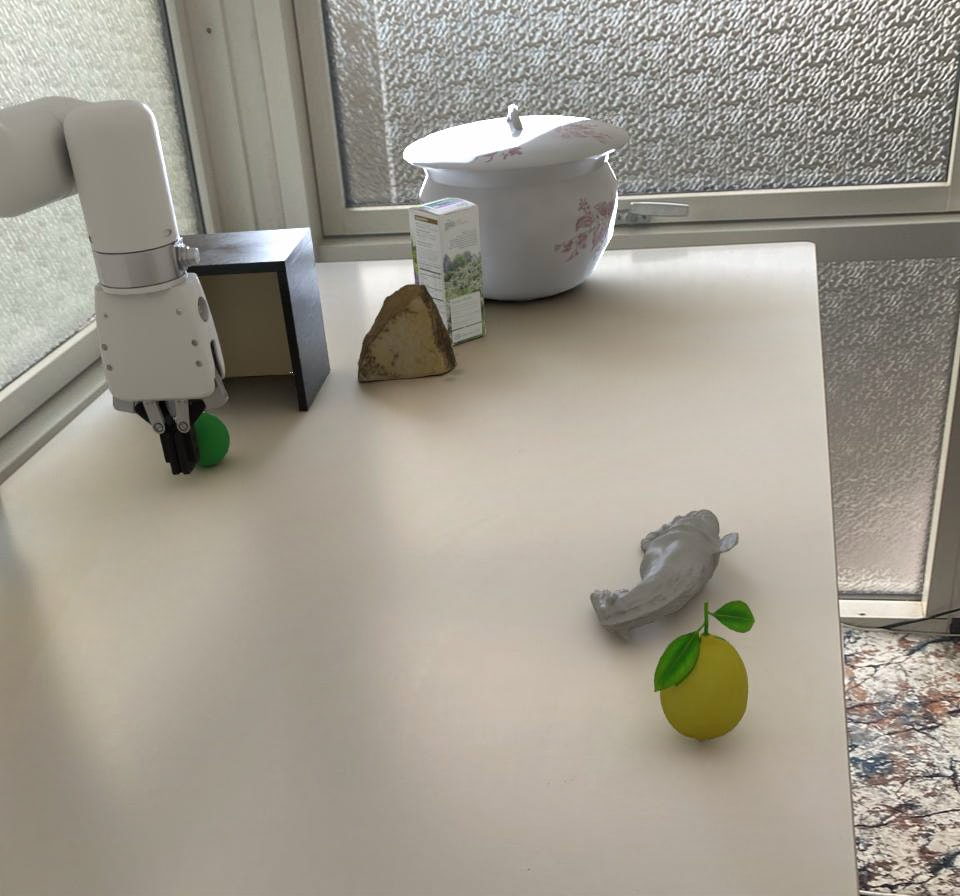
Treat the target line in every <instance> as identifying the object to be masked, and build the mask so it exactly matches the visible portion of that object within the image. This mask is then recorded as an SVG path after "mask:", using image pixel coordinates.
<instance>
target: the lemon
mask: <svg viewBox="0 0 960 896" xmlns="http://www.w3.org/2000/svg"><path fill="white" fill-rule="evenodd" d="M709 615H710V616H712V617H714V618H715V619H716V620H717V621H718V622H719V623H720V624H722V625H723V626H725V627H726V629H728V630H730V631H733V632H736V633H738V634H739V633H740V634H746V633H748V632H750V631H751V630H752V628H753V627H754V624H755V623H756V620H755V616H754V614H753V612H752V610H751V608H750V606H749V605H748V604H747V603H746V602H745V601H743V600H741V599H738V600H737V599H736V600H732V601H729V602H726V603H725V604H723V605H722V606H721V607H719V608H718V609H716V610H715V611H714V612H712V611H709V601H705V602H704V603H703V617H704V618H703V623H702V624H701V626H700V627H698V628H697V630H694V631H690V632H688V633H684V634H681V635H679V636H678V637H676V638H675V639H674V640H672V641H671V642H670V643H669V644H668V645H667V646H666V648H665V650H664V651H663V653H662V654H661V655H660V657H659V659H658V662H657V665H656V666H655V670H654V674H653V685H654V689H653V692H654V693H657V692H659V700H660V706H661V709H662V711H663V714H664V716H665V719H666V720H667V722H668V723H669V724H670V726H671V727H672V728H673V729H674V730H675V731H676V732H677V733H679V734H680V735H682V736H684V737H686V738H690V739H695V740H696V741H697V742H704V741H706V740H711V739H716V738H719V737H722V736H726V735H727V734H728V733H730V732H731V731H733V730H734V729H735V728H736V727H737V726H738V725H739V723H740V722H741V721H742V719H743V717H744V715H745V713H746V710H747V707H748V699H749V677H748V673H747V669H746V666H745V662H744V661H743V658H742V657H741V655H740V654H739V652H738V650H737V649H736V647H735V646H734V645H733V644H731V642H729V641H728V640H726V639H725V638H724V637H722V636H719V635H718V634H713V633H710V632H709ZM702 629H703V632H700V631H702Z"/></svg>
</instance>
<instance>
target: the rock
mask: <svg viewBox="0 0 960 896" xmlns="http://www.w3.org/2000/svg"><path fill="white" fill-rule="evenodd" d="M453 347H454V346H452V344H451V339H450V335H449V332H448V330H447V329H446V327H445V325H444V323H443V320H442V317H441V316H440V313H439V311H438V308H437V306H436V304H435V302H434V301H433V298H432V296H431V295H430V294H429V292H428V291H427V288H426V286H425V285H419V286H416V285H415V283H412V284H411V283H410V284H405V285H404V286H401V287H400V288H399V289H398V290H395V291H394V292H393V293H391V294H390V295H387V296H386V297H385V298H384V300H383V303H382V306H381V308H380V310H379V311H378V314H377V315H376V317H375V319H374V322H373V323H372V325H371V327H370V330H369V331H368V332H367V333H366V334H365V335H364V337H363V340H362V343H361V348H360V349H361V350H360V355H359V357H358V361H357V367H358V368H357V380H358V381H359V382H370V381H371V382H372V381H392V380H399V379H413V378H421V377H427V376H435V375H441V374H446V373H447V372H448V371H450V370H452V369H453V368H455V366H456V364H457V363H458V359H457V357H456V354H455V349H454V348H453Z"/></svg>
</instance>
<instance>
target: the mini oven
mask: <svg viewBox="0 0 960 896" xmlns="http://www.w3.org/2000/svg"><path fill="white" fill-rule="evenodd" d="M179 237H182V240H183V243H184V245H185V247H187V246H188V247H189V248H197V249H198V252H199V257H200V261H199V264H197V265H191V266H190V267H188V269H187V270H186V271H187V273H195V274H196V275H197V277H198V279H199V281H200V284H201V286H202V289H203V291H204V294H205V297H206V300H207V303H208V306H209V309H210V312H211V315H212V319H213V322H214V325H215V329H216V332H217V336H218V340H219V344H220V347H221V351H222V356H223V360H224V366H225V377H224V378H239V377H240V378H241V377H260V376H284V375H292V376H293V382H294V388H295V394H296V400H297V402H296V403H297V407H298V411H299V412H308V411H309V410H310V408H311V406H312V405H313V403H314V401H315V399H316V397H317V395H318V393H319V391H320V389H321V388H322V386H323V384H324V383H325V380H326V379H327V377H328V375H329V373H330V371H331V363H330V356H329V350H328V344H327V336H326V329H325V328H326V327H325V324H324V315H323V308H322V301H321V295H320V287H319V281H318V273H317V267H316V259H315V253H314V247H313V239H312V231H311V227H299V228H282V229H265V230H250V231H233V232H231V231H230V232H216V233H198V234H181V235H180V234H179ZM290 372H291V373H290ZM292 372H293V373H292ZM167 401H168V404H169V407H170V409H171V412H172V415H173V418H175V417H176V406H175V400H167Z"/></svg>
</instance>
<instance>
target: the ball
mask: <svg viewBox="0 0 960 896" xmlns="http://www.w3.org/2000/svg"><path fill="white" fill-rule="evenodd" d="M194 426H195V431H196V436H197V440H198V445H199V450H200V460H199V461H198V462H197V465H196V466H199V467H212V466H214V465H217V464H219V463H220V462H221V461H222V460H223V459H225V457H226V456H227V454H228V453H229V450H230V446H231V438H230V437H231V436H230V432H229V430H228V428H227V426H226V424H225V423H224V422H223V420H221V419H220V418H219V417H218V416H216V415H214V414H212V413H209V412H202V414H201V415H200V416H199V418H198V419H197V421H196V422H195V423H194Z"/></svg>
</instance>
